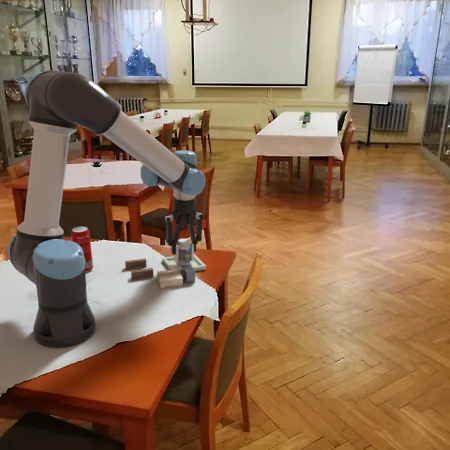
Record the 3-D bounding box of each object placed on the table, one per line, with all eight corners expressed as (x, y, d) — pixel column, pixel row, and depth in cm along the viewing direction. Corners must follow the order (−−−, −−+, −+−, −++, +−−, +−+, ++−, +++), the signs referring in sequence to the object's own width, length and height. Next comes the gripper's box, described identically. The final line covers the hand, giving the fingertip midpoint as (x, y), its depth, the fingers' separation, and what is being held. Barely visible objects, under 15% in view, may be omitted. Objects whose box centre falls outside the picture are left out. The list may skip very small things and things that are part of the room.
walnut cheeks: (153, 276, 151) (153, 269, 150) (132, 279, 148) (132, 272, 147) (145, 265, 159) (145, 258, 158) (125, 267, 156) (125, 261, 155)
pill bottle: (188, 266, 157) (188, 243, 154) (175, 264, 158) (175, 242, 155) (191, 260, 161) (192, 238, 159) (179, 259, 162) (179, 237, 159)
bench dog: (195, 281, 148) (195, 270, 147) (186, 283, 147) (186, 271, 145) (189, 275, 152) (189, 264, 151) (181, 277, 151) (181, 266, 150)
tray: (206, 269, 157) (206, 265, 157) (173, 274, 152) (173, 270, 152) (193, 257, 167) (193, 253, 167) (162, 261, 163) (162, 257, 162)
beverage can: (95, 266, 156) (93, 225, 151) (88, 274, 150) (85, 232, 145) (79, 265, 157) (76, 224, 152) (71, 273, 150) (67, 230, 146)
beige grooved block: (182, 286, 145) (182, 278, 144) (161, 289, 143) (160, 280, 142) (178, 277, 151) (178, 269, 150) (157, 279, 149) (157, 271, 148)
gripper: (204, 192, 159) (203, 254, 166) (155, 196, 151) (155, 260, 159) (213, 198, 152) (211, 262, 160) (162, 202, 145) (162, 269, 152)
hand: (183, 261), depth 159 cm, fingers open, 5 cm apart
